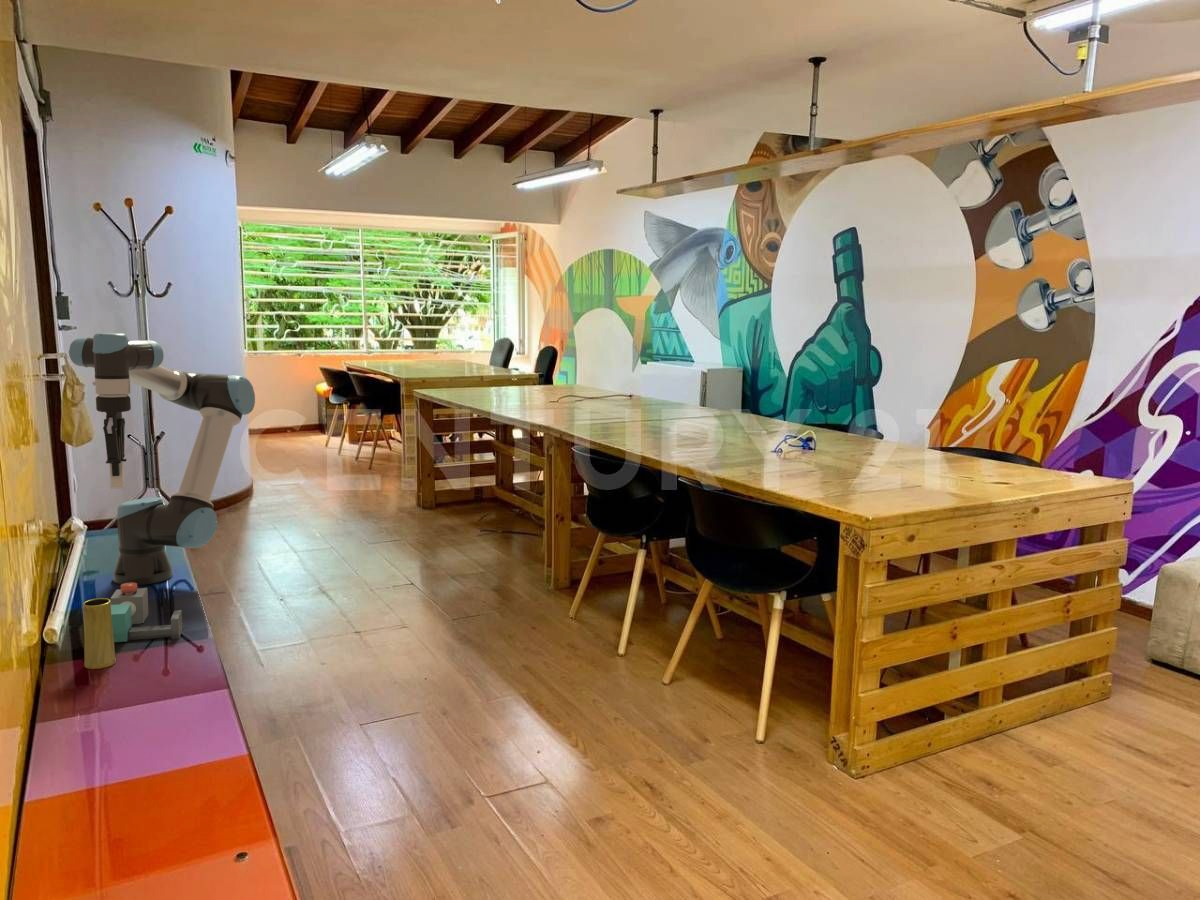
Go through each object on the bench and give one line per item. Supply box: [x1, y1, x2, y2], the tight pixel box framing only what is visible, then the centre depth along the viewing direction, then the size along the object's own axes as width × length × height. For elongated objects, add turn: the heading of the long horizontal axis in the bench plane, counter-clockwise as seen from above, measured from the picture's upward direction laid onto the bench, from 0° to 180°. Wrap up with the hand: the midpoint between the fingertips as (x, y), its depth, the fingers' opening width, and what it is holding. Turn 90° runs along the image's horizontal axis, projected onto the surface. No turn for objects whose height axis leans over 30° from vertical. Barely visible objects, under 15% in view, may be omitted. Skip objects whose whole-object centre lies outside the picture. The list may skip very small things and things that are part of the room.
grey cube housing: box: [110, 587, 149, 625], centre depth 213 cm, size 7×7×7 cm
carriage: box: [111, 604, 133, 643], centre depth 200 cm, size 6×7×7 cm
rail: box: [127, 609, 183, 641], centre depth 202 cm, size 19×6×5 cm, turn 109°
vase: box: [82, 597, 117, 670], centre depth 186 cm, size 6×6×14 cm
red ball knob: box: [120, 582, 138, 595], centre depth 212 cm, size 4×4×5 cm
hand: (117, 487), depth 215 cm, fingers closed
